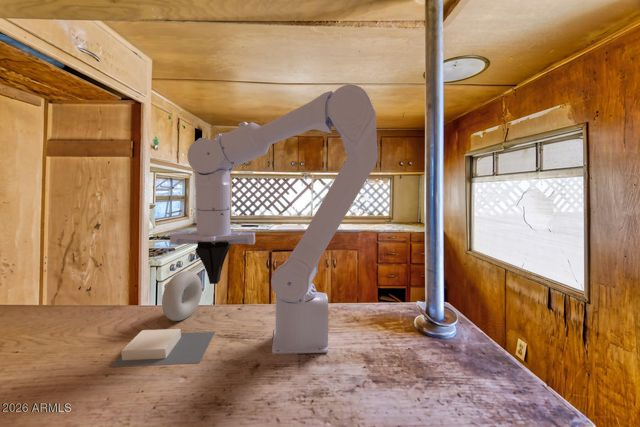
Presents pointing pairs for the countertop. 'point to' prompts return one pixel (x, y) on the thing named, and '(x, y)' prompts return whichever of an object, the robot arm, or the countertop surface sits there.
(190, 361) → the mat
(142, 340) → the tile
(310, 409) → the countertop surface
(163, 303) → the donut
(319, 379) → the countertop surface
